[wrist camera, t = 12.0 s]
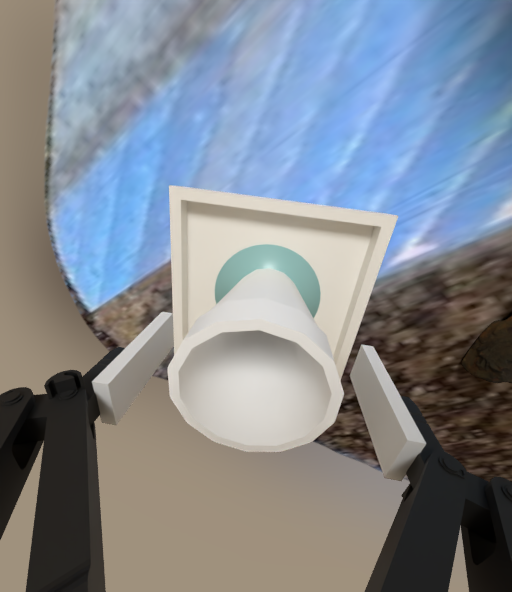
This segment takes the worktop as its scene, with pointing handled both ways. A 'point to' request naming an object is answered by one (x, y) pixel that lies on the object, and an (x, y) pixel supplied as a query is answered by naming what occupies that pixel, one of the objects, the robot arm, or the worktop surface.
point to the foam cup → (257, 369)
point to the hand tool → (492, 353)
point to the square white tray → (275, 256)
